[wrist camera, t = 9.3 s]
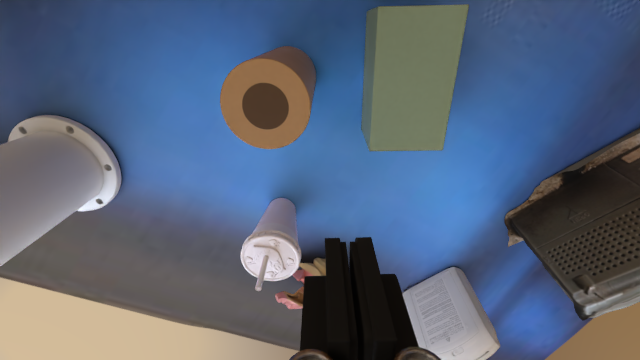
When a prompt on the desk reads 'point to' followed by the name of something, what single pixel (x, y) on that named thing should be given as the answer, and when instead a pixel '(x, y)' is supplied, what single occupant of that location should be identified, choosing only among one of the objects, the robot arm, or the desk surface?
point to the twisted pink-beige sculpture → (307, 270)
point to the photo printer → (450, 318)
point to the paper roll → (269, 97)
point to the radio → (588, 228)
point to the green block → (410, 75)
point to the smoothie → (273, 244)
